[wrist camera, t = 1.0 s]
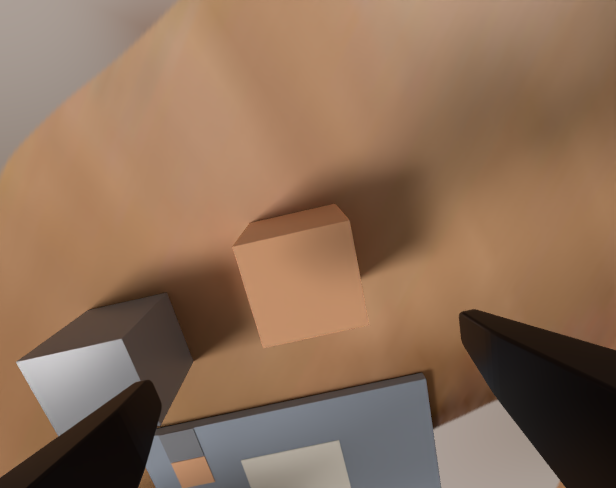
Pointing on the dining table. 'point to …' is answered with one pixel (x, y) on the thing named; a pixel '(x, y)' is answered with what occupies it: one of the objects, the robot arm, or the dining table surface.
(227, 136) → the dining table surface
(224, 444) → the board
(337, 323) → the terracotta cube
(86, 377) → the charcoal cube
